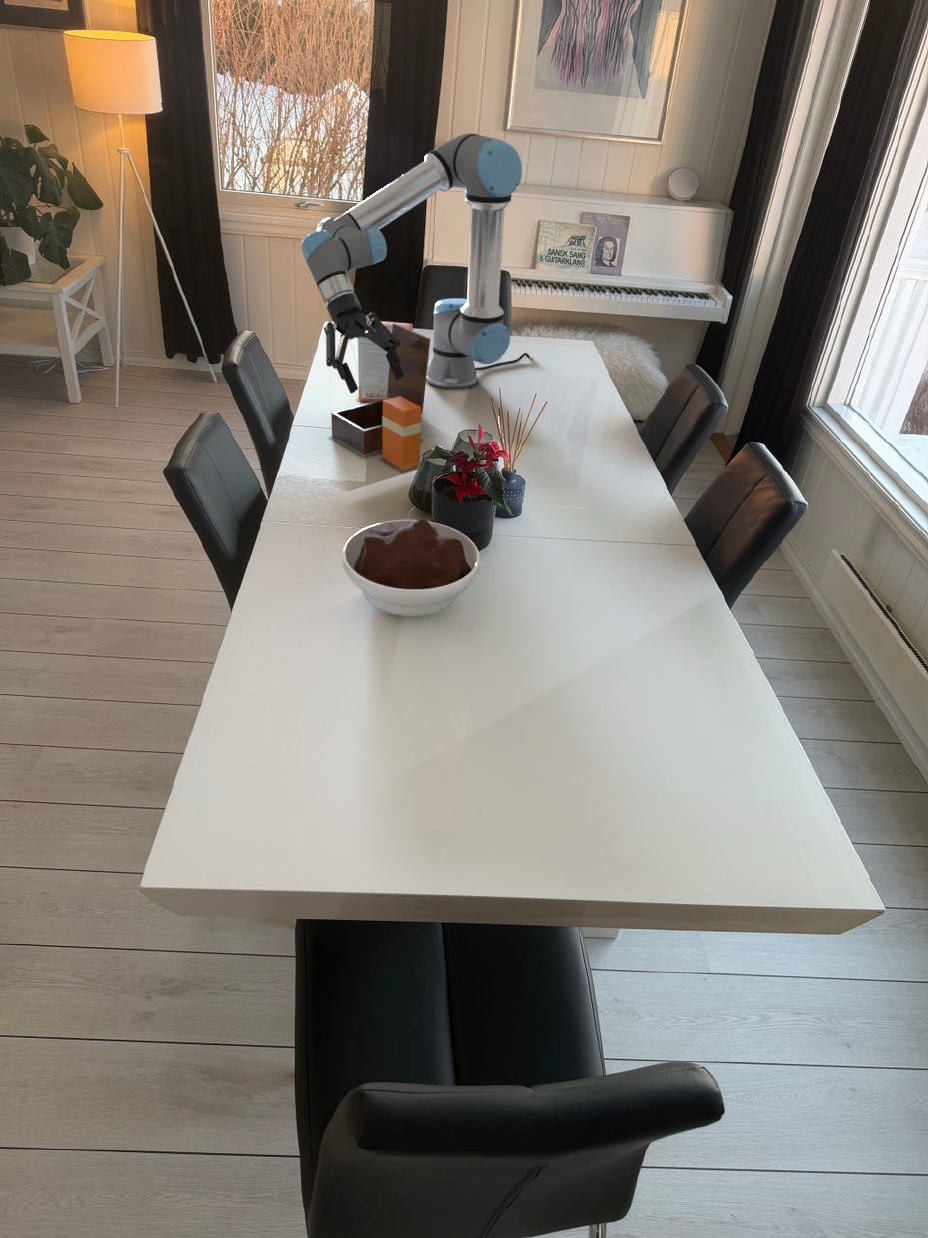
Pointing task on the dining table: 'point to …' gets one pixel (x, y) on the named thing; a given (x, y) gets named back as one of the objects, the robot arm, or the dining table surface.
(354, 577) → the bowl of chocolate pudding
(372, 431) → the storage box
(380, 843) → the dining table surface
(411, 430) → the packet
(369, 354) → the cracker box
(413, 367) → the lid
